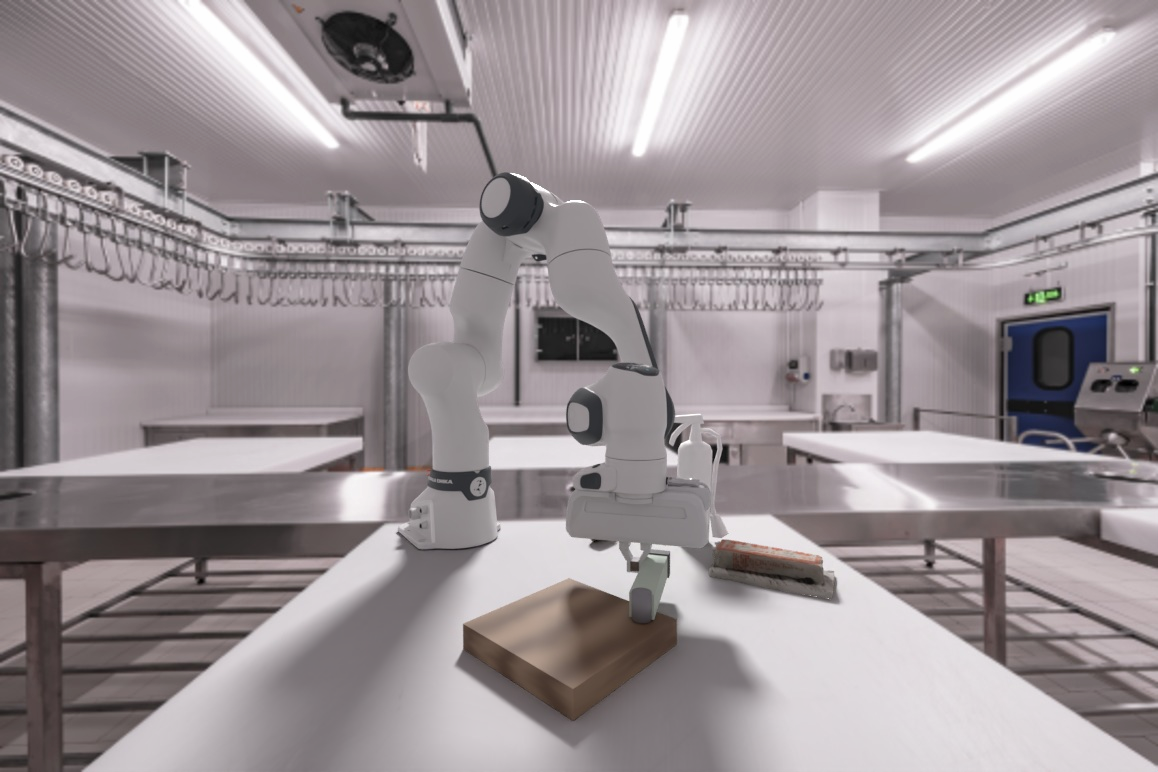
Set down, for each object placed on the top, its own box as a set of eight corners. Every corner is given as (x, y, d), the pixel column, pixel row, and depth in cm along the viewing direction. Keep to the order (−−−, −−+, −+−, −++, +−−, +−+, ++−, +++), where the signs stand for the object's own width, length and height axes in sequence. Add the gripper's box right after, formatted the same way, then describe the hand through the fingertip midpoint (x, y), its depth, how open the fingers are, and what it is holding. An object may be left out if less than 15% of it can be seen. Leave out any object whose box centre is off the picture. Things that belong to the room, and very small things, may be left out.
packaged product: (707, 549, 79) (721, 532, 88) (707, 579, 79) (721, 559, 88) (833, 570, 70) (835, 549, 79) (832, 603, 70) (835, 579, 79)
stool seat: (463, 648, 58) (463, 623, 58) (569, 598, 71) (569, 578, 71) (573, 721, 46) (573, 689, 46) (676, 644, 59) (676, 619, 59)
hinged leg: (654, 627, 57) (654, 597, 57) (625, 622, 58) (625, 594, 58) (670, 573, 73) (670, 551, 72) (647, 571, 74) (647, 548, 73)
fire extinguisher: (732, 548, 92) (732, 415, 92) (666, 545, 93) (666, 414, 93) (726, 537, 99) (726, 412, 98) (665, 534, 100) (665, 412, 100)
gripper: (710, 475, 71) (710, 570, 71) (574, 468, 76) (574, 557, 76) (710, 484, 65) (710, 588, 65) (562, 476, 70) (562, 573, 70)
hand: (635, 571), depth 71 cm, fingers closed
